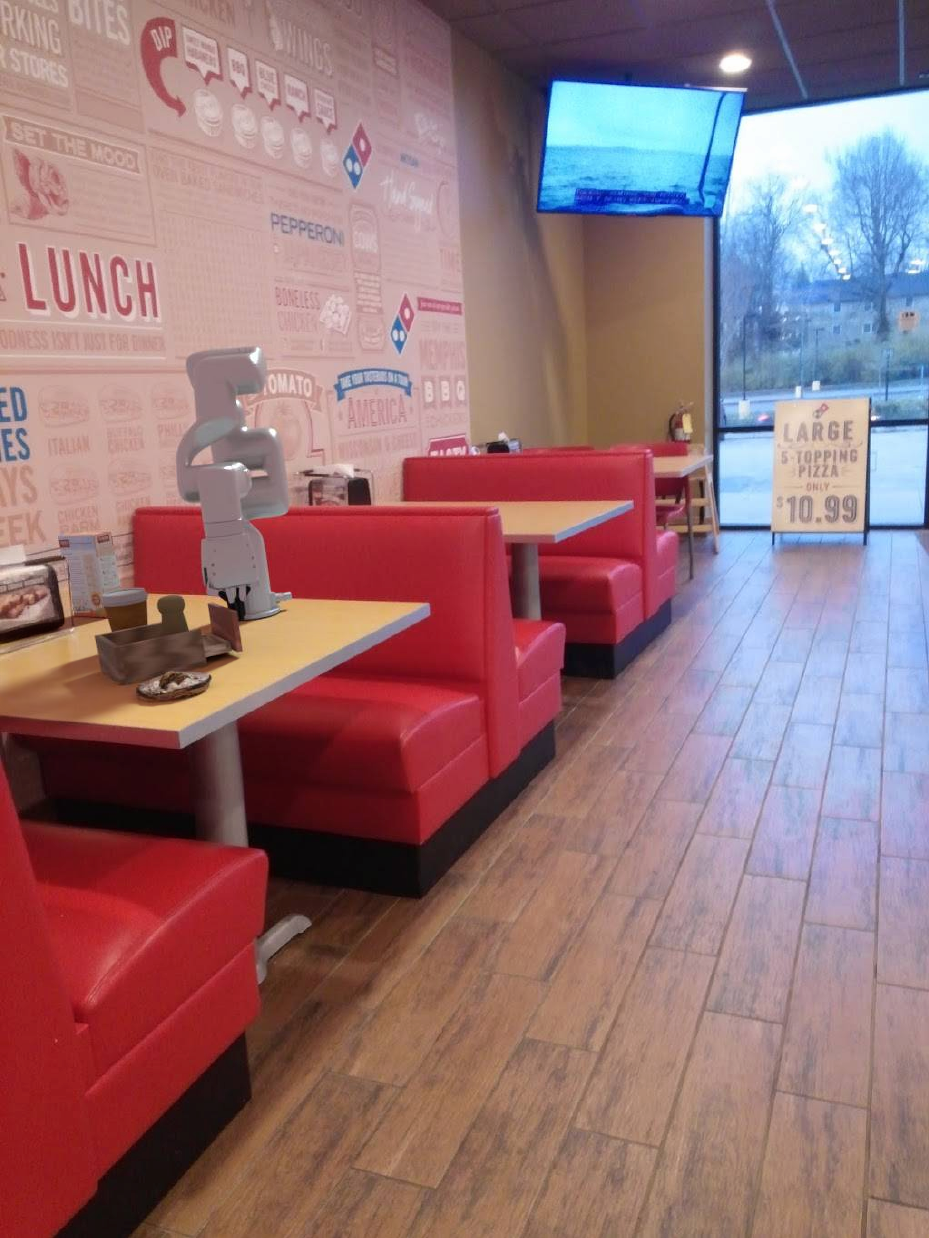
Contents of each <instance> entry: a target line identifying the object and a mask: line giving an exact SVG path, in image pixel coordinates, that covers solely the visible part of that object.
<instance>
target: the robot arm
mask: <svg viewBox="0 0 929 1238" xmlns="http://www.w3.org/2000/svg"><path fill="white" fill-rule="evenodd" d="M185 370H186V374H187V376H188V380H189V382H190V385H191V387H192V389H193V393H194V394H193V395H194V408H195V421H194V423H193V424H192V425H191V426H190V427H189V428H188V429H187V430H186V432H185V433H184V435H183V436H182V437H181V440H180V441H179V443H178V445H177V450H176V452H175V453H176V455H175V467H176V470H175V471H176V485H177V490H178V493H179V495H180V497H181V499H182V500H183V501H184V502H185V503H188V504H200V510H201V514H202V515H201V516H202V517H201V518H202V522H203V528H204V534H205V538H203V539H201V542H200V543H201V546H200V553H201V554H200V558H201V561H200V562H201V573H202V581H203V584H204V587H206V593H205V594H206V596H209V597H215V598H216V597H218V598H220V599H221V600H223V601H224V602H225V603H226V606H227V607H226V608H229V609H232V610H235V611H237V616H238V623H240V622H245V621H247V620H248V621H249V620H255V619H262V618H267V617H270V616H273V615H276V614H278V613H279V612H280V611H281V606H280V605H279V604H280V603H281V602H286V601H292V599H293V595H292V592H291V591H286V592H278V593H277V592H274V591H272V590H271V583H270V575H269V569H268V562H267V554H266V549H265V547H266V546H265V541H264V540H265V539H264V537H263V535H262V533H261V532H260V530H258V529H257V528H256V527H255V526H254V524H252V523H251V520H256V519H257V520H258V519H266V518H267V519H268V518H275V517H280V516H281V517H282V516H284V515H286V514H288V512H289V510H290V505H291V502H290V501H291V500H290V492H289V491H290V489H289V483H288V482H289V481H288V477H287V476H288V475H287V470H286V469H287V468H286V467H287V466H286V460H285V459H286V458H285V452H284V447H283V442H282V439H281V437H280V435H279V433H278V431H277V430H275V429H274V428H271V427H266V426H265V427H254V428H248V426H247V419H246V412H245V408H244V406H243V405H242V403H241V402H240V401H239V400H238V399H237V396H245V395H247V396H248V395H256V394H261V393H262V392H263V391H264V388H265V387H266V380H267V374H268V366H267V360H266V357H265V355H264V352H263V351H262V350H261V348H260V347H257V346H255V345H251V346H240V347H239V346H238V347H229V348H227V347H225V348H214V349H207V350H206V349H205V350H200V351H196V352H193V353H192V354H190V355H189V356H188V357H187V358H186V359H185ZM208 447H210V451H211V459H212V461H213V462H212V463H205V464H196V465H192V464H193V462H194V459H195V458H196V457H197V456H198V455H199V454H200V453H201V452H202V451H203V450H205V449H207V448H208ZM256 471H262V472H264V473H266V475H258V476H252V475H251V472H256Z"/></svg>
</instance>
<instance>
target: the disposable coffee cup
mask: <svg viewBox="0 0 929 1238" xmlns="http://www.w3.org/2000/svg"><path fill="white" fill-rule="evenodd" d="M148 596H149V594H148V593H147V591H146V590H145V588H144V587H130V588H121V590H115V591H111V592H107V593H104V594H103V595H102V600H101V601H100V602H101V603H102V605H103V606H104V609H105V612H106V615H107V618H106V619H107V621H108V625H109V627H110V630H111V631H110V632H115V631H120V630H125V629H130V628H135V627H140V626H144V625H149V624H148V623H149V622H148V602H147V600H148Z"/></svg>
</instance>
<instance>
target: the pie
mask: <svg viewBox="0 0 929 1238" xmlns="http://www.w3.org/2000/svg"><path fill="white" fill-rule="evenodd" d="M212 679H213V678H212V675H211V674H210V673H207V672H199V671H181V672H173V671H169V672H167V673H165V674H164V675H161V676H158V677H155V678H151V679H148V680H146V681H144V682H141V683H139V685H137V686H136V688H135V694H136V695H135V696H136V697H137V698H138V700H140V701H143V702H146V703H148V702H149V703H150V702H151V703H156V702H157V703H159V702H161V703H163V702H170V701H171V702H173V701H180V700H185V699H187V698H188V699H189V698H192V697H195V696H199V695H201V694H204V693H206V692H207V690H208V689H209V688H210V684H211V682H212ZM132 699H133V697H132Z"/></svg>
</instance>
